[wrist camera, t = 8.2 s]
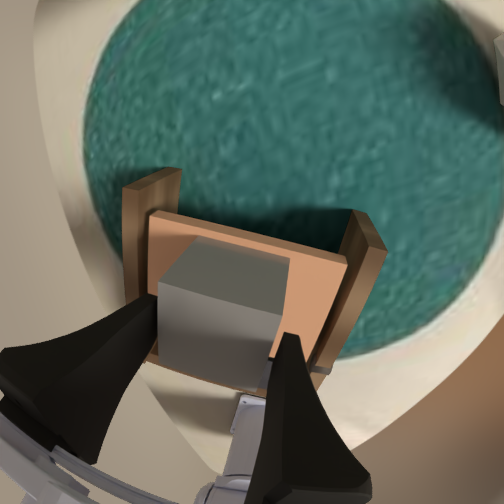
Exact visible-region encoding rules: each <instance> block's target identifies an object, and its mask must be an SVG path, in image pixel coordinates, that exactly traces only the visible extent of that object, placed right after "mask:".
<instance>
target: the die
mask: <svg viewBox="0 0 504 504" xmlns="http://www.w3.org/2000/svg"><path fill="white" fill-rule="evenodd" d="M493 42H494V48H495V54H496V61H497V69H498V79H499V92H500V104H502V105H503V106H504V33H503V34H501V35H500V36H498V37H497V38H495V39H494V40H493Z"/></svg>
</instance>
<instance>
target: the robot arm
mask: <svg viewBox="0 0 504 504" xmlns="http://www.w3.org/2000/svg"><path fill="white" fill-rule="evenodd" d="M157 336H158V296H156V295H153V294H149V293H146V294H144V295H142V296H140V297H139V298H137V299H135V300H134V301H132V302H130V303H129V304H127V305H125V306H124V307H122V308H120V309H119V310H117V311H115V312H114V313H112V314H110V315H108V316H107V317H105V318H103V319H101V320H99V321H97V322H95V323H93V324H91V325H89V326H87V327H85V328H83V329H80V330H78V331H75V332H73V333H70V334H68V335H65V336H61V337H58V338H55V339H52V340H49V341H45V342H41V343H36V344H32V345H25V346H18V347H9V348H4V349H3V350H2V351H1V353H0V390H1V391H2V392H3V394H4V397H3V398H2V399H1V401H0V468H1V470H2V471H3V472H4V473H5V474H6V475H8V476H9V477H10V478H11V479H12V480H13V481H14V482H15V483H16V484H17V485H18V486H20V487H21V488H22V489H23V490H24V491H25V492H26V495H25V496H24V498H23V501H22V502H21V504H99V503H98V502H96V501H94V500H92V499H90V498H88V497H87V496H88V494H89V492H90V491H89V489H87V488H86V487H84V486H83V485H81V484H80V483H79V482H78V481H76V480H75V479H74V478H73V477H72V476H71V475H69V474H68V473H66V472H64V471H63V470H62V469H60V468H59V467H58V466H56V464H55V462H56V463H58V464H59V465H61V466H62V467H64V468H66V469H67V470H69V471H70V472H72V473H74V474H75V475H77V476H79V477H80V478H82V479H84V480H85V481H87V482H89V483H91V484H93V485H95V486H96V487H98V488H100V489H102V490H104V491H106V492H108V493H110V494H112V495H114V496H116V497H119V498H120V499H123V500H125V501H127V502H129V503H132V504H178V503H175V502H172V501H169V500H166V499H164V498H161V497H158V496H155V495H153V494H150V493H148V492H145V491H143V490H140V489H138V488H136V487H133V486H131V485H129V484H126V483H124V482H122V481H120V480H118V479H116V478H114V477H112V476H110V475H108V474H106V473H104V472H102V471H100V470H98V469H96V468H94V467H92V466H90V465H92V464H96V463H97V459H98V456H99V453H100V450H101V446H102V444H103V441H104V438H105V435H106V433H107V430H108V427H109V425H110V422H111V420H112V418H113V415H114V413H115V410H116V408H117V406H118V404H119V402H120V400H121V398H122V395H123V394H124V392H125V390H126V388H127V386H128V385H129V383H130V382H131V380H132V379H133V377H134V375H135V374H136V372H137V371H138V369H139V368H140V366H141V365H142V363H143V362H144V360H145V358H146V357H147V355H148V354H149V352H150V351H151V349H152V347H153V345H154V343H155V341H156V338H157ZM230 433H232V434H234V435H233V439H232V443H231V446H230V450H229V454H228V457H227V461H226V465H225V468H224V472H223V475H222V476H217V478H216V481H215V483H214V482H210V483H208V484H207V485H205V486H204V487H202V488H201V489H200V491H199V492H198V494H197V496H196V499H195V501H194V504H366V503H367V502H369V501H370V500H371V498H372V483H371V477H370V473H369V472H368V471H367V470H366V469H365V468H364V467H363V466H362V465H361V464H360V462H359V461H358V460H357V459H356V458H355V457H354V455H353V454H352V453H351V451H350V450H349V449H348V447H347V446H346V445H345V443H344V442H343V440H342V439H341V437H340V436H339V434H338V433H337V431H336V430H335V428H334V426H333V425H332V423H331V421H330V419H329V418H328V416H327V414H326V412H325V410H324V408H323V406H322V404H321V402H320V399H319V397H318V395H317V392H316V390H315V387H314V385H313V382H312V379H311V376H310V373H309V370H308V367H307V364H306V361H305V357H304V353H303V349H302V345H301V339H300V337H299V335H296V334H292V333H288V332H284V333H283V336H282V338H281V341H280V344H279V346H278V349H277V352H276V355H275V357H274V360H273V363H272V366H271V371H270V375H269V380H268V385H267V394H266V399H263V398H258V397H254V396H250V395H245V394H244V395H241V397H240V401H239V404H238V407H237V410H236V413H235V416H234V420H233V423H232V426H231V429H230ZM54 461H55V462H54Z"/></svg>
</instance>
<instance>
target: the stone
mask: <svg viewBox="0 0 504 504" xmlns="http://www.w3.org/2000/svg"><path fill="white" fill-rule="evenodd" d="M289 264H290V258H288V257H284V256H280V255H276V254H272V253H268V252H264V251H260V250H256V249H252V248H248V247H245V246H241V245H237V244H233V243H229V242H225V241H221V240H217V239H213V238H209V237H205V236H201V235H198V237H197V238H196V239H195V240H194V241H193V242H192V243H191V244H190V245H189V247H188V248H187V249H186V250H185V251H184V252H183V253H182V254H181V255H180V257H179V258H178V259H177V260H176V261H175V262H174V263H173V265H172V266H171V267H170V268H169V269H168V270H167V271H166V273H165V274H164V275H163V276H162V277H161V278H160V279H159V281H158V357H159V363H160V364H163V365H165V366H168V367H171V368H174V369H177V370H180V371H183V372H186V373H189V374H192V375H195V376H198V377H202V378H205V379H208V380H211V381H215V382H218V383H222V384H225V385H229V386H233V387H237V388H240V389H244V390H248V391H252V392H256V391H257V388H258V385H259V382H260V380H261V377H262V374H263V371H264V369H265V366H266V363H267V360H268V357H269V354H270V352H271V349H272V346H273V343H274V340H275V337H276V334H277V331H278V328H279V325H280V322H281V319H282V316H283V309H284V302H285V295H286V287H287V280H288V272H289Z"/></svg>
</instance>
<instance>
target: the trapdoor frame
mask: <svg viewBox="0 0 504 504" xmlns="http://www.w3.org/2000/svg"><path fill="white" fill-rule="evenodd" d="M181 173H182V169H179V168H173V167H167V168H164V169H162V170H160V171H157V172H155V173H153V174H150V175H148V176H146V177H144V178H141V179H139V180H137V181H135V182H133V183H131V184H128V185H126V186H124V187H122V248H123V270H124V285H125V297H126V305H127V304H129V303H130V302H132V301H134V300H135V299H137V298H139V297H140V296H142V295H144V294H146V293H148V240H149V218H150V215H152V214H153V213H155V212H156V211H158V210H161V211H165V212H169V213H174V214H177V212H178V201H179V191H180V182H181ZM387 253H388V250H387V249H386V247H385V245H384V243H383V241H382V239H381V237H380V236H379V234H378V232H377V230H376V229H375V227H374V225H373V223H372V221H371V220H370V218H369V216H368V215H367V213H363V212H360V211H357V210H353V209H352V212H351V215H350V218H349V221H348V225H347V228H346V231H345V233H344V236H343V239H342V242H341V245H340V248H339V251H338V254H339V255H343V256H345V257H346V261H347V264H348V266H347V268H346V271H345V273H344V276H343V279H342V281H341V284H340V286H339V289H338V291H337V294H336V296H335V299H334V301H333V304H332V306H331V308H330V311H329V313H328V315H327V318H326V320H325V322H324V325H323V327H322V329H321V332H320V334H319V336H318V338H317V340H316V343H315V345H314V347H313V349H312V351H311V353H310V356H309V358H308V360H307V362H306V364H307V367H308V370H309V373H310V376H311V379H312V382H313V385H314V387H315V390H316V392H317V390H318V388H319V387H320V385H321V383H322V382H323V380H324V379H325V377H326V375H329V374H330V372H331V370H332V367H333V363H334V361H335V360H336V358H337V356H338V354H339V353H340V351H341V349H342V347H343V345H344V344H345V342H346V340H347V338H348V336H349V334H350V332H351V330H352V328H353V327H354V325H355V323H356V321H357V319H358V317H359V315H360V313H361V311H362V309H363V307H364V305H365V302H366V300H367V298H368V296H369V294H370V292H371V290H372V288H373V285H374V283H375V281H376V279H377V276H378V274H379V272H380V270H381V267H382V265H383V263H384V260H385V258H386V256H387ZM146 361H148V362H151V363H153V364H156V365H159V366H161V367H164V368H167V369H170V370H173V371H176V372H179V373H182V374H185V375H188V376H191V377H194V378H197V379H200V380H203V381H207V382H210V383H213V384H217V385H220V386H224V387H228V388H231V389H235V390H239V391H243V392H247V393H251V394H255V395H259V396H263V397H266V394H267V390H266V389H261V388H257V391H256V392H252V391H248V390H244V389H240V388H237V387H233V386H229V385H225V384H222V383H218V382H215V381H211V380H208V379H205V378H202V377H198V376H195V375H192V374H189V373H186V372H183V371H180V370H177V369H174V368H171V367H168V366H165V365H163V364H160V363H159V357H158V336H157V338H156V341H155V343H154V345H153V347H152V349H151V351H150V352H149V354H148V355H147V357H146V358H145V360H144V362H143V363H144V364H145V362H146Z"/></svg>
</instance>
